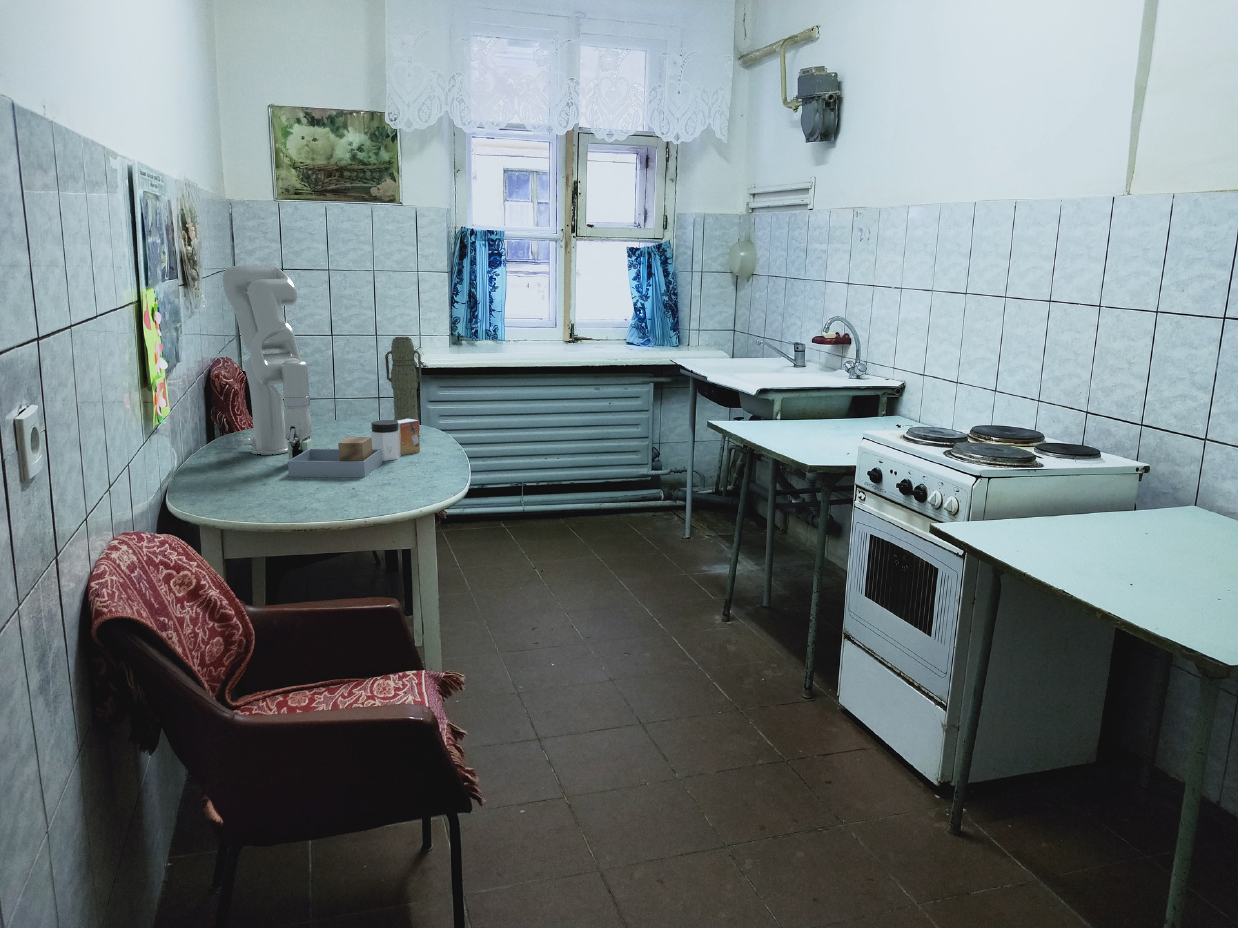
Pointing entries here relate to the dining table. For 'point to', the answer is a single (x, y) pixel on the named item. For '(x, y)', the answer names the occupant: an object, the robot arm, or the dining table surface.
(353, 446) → the walnut block
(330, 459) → the box
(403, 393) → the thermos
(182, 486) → the dining table surface
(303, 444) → the pale green block
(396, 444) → the jar
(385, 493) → the dining table surface
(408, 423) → the small box
